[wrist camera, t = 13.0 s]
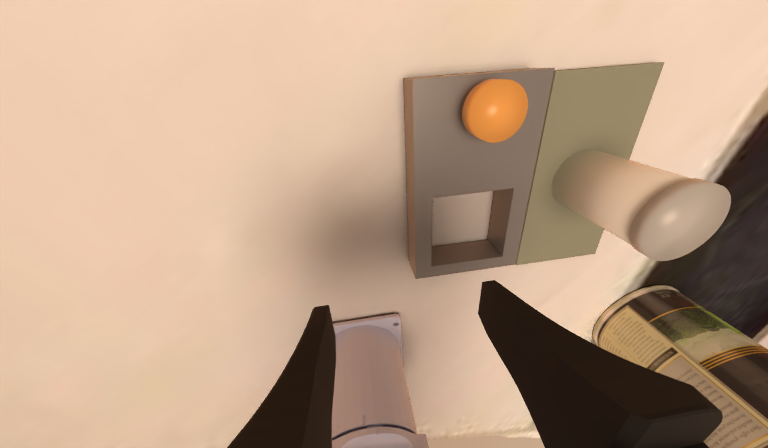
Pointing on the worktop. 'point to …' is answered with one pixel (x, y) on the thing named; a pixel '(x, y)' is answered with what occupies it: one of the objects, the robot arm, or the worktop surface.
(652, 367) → the coffee can
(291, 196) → the worktop surface
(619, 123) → the mat
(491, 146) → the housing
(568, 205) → the cylinder
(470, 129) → the button
